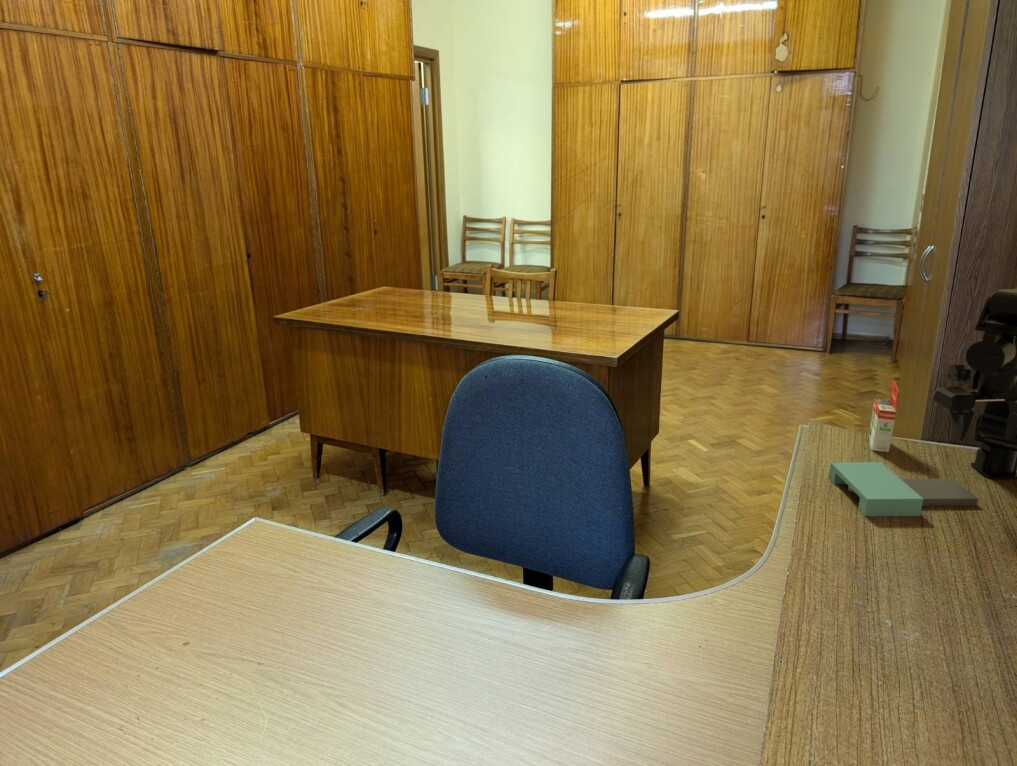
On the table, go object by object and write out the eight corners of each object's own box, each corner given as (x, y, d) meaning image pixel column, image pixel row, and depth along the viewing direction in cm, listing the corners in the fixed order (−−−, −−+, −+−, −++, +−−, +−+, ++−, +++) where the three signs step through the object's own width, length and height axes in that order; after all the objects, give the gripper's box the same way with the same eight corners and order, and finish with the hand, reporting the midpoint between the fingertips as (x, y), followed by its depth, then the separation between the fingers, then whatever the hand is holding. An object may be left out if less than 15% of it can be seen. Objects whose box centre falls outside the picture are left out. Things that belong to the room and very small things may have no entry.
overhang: (878, 477, 139) (880, 462, 138) (919, 515, 125) (923, 498, 124) (828, 478, 139) (830, 462, 138) (864, 516, 125) (867, 499, 124)
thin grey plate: (951, 485, 135) (952, 479, 135) (976, 505, 128) (978, 498, 127) (894, 486, 136) (896, 479, 135) (917, 505, 128) (918, 498, 128)
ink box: (871, 451, 152) (881, 388, 147) (866, 437, 159) (876, 377, 154) (889, 453, 150) (900, 390, 146) (884, 439, 157) (894, 379, 153)
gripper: (1019, 346, 132) (1002, 421, 137) (923, 350, 132) (910, 424, 137) (1065, 364, 121) (1045, 444, 126) (961, 367, 121) (945, 448, 126)
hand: (983, 439), depth 129 cm, fingers open, 9 cm apart
